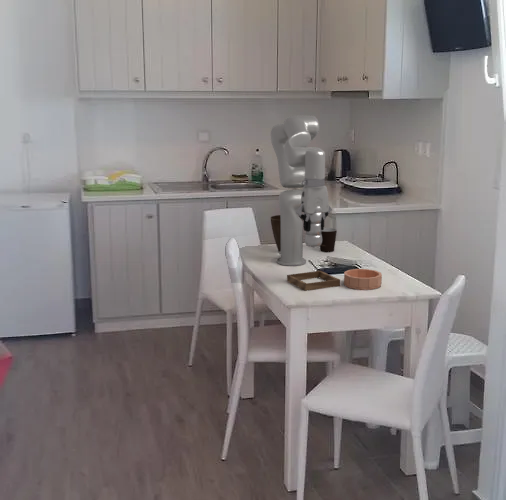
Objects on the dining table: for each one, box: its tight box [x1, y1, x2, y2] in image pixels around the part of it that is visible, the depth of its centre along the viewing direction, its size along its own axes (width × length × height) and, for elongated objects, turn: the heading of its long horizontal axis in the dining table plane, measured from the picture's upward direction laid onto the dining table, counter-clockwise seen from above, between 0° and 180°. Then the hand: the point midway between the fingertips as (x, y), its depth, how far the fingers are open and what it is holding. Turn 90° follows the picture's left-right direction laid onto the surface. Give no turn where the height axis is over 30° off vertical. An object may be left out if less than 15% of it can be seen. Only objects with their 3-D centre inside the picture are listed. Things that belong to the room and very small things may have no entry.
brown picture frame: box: [286, 270, 341, 292], centre depth 271 cm, size 15×15×2 cm
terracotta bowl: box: [343, 268, 383, 291], centre depth 268 cm, size 14×14×4 cm
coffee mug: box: [319, 227, 338, 253], centre depth 325 cm, size 12×9×10 cm
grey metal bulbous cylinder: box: [304, 206, 322, 248], centre depth 265 cm, size 6×7×20 cm
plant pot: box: [270, 214, 304, 253], centre depth 322 cm, size 15×15×16 cm
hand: (313, 229), depth 266 cm, fingers closed on grey metal bulbous cylinder, 5 cm apart
